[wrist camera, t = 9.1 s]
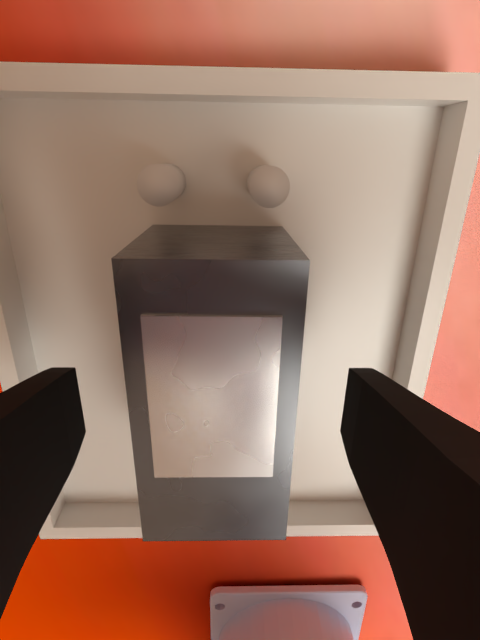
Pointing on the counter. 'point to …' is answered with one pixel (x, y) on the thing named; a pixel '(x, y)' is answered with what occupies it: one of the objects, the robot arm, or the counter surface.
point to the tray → (232, 210)
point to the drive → (212, 376)
